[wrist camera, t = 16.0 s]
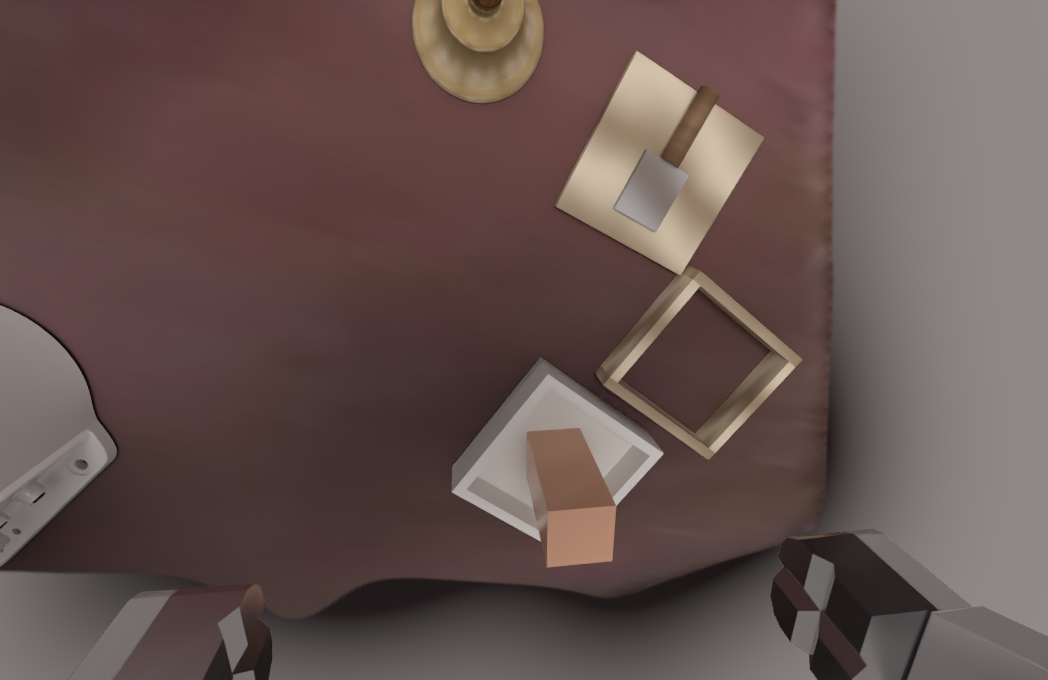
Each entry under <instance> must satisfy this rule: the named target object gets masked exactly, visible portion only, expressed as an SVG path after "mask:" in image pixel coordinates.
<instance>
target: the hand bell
mask: <svg viewBox="0 0 1048 680" xmlns="http://www.w3.org/2000/svg"><path fill="white" fill-rule="evenodd" d="M412 32H413V39H414V44H415V47H416V50H417V53H418V55H419V58H420V60H421V62H422V64H423V66H424V68H425V69H426V71H427V72H428V74H429V75H430V77H431V78H432V79H433V80H434V81H435V82H436V83H437V84H438V85H439V86H440V87H441V88H442V89H443V90H445V91H446V92H448V93H449V94H451V95H453V96H455V97H457V98H459V99H462V100H464V101H468V102H473V103H491V102H496V101H499V100H502V99H505V98H507V97H509V96H511V95H512V94H514V93H515V92H516V91H518V90H519V89H521V88H522V87H523V86H524V85H525V83H526V82H527V81H528V80H529V78H530V77H531V76H532V74H533V72H534V71H535V69H536V67H537V64H538V62H539V59H540V57H541V53H542V48H543V42H544V22H543V15H542V11H541V8H540V4H539V1H538V0H415V3H414V8H413V14H412Z"/></svg>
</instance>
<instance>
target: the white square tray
mask: <svg viewBox="0 0 1048 680" xmlns="http://www.w3.org/2000/svg"><path fill="white" fill-rule="evenodd" d="M572 428H580V430H581V432H582V434H583V436H584V438H585V440H586V443H587V445H588V447H589V449H590V451H591V453H592V455H593V457H594V460H595V462H596V464H597V466H598V468H599V470H600V472H601V474H602V477H603V479H604V481H605V483H606V485H607V487H608V489H609V491H610V494H611V496H612V498H613V500H614V502H615V504H616V506H617V505H618V503H619V502H620V501H621V500H622V499H623V498H624V497H625V496H626V495H627V494H628V492H629V491H630V490H631V489H632V488H633V487H634V486H635V485H636V484H637V483H638V481H639V480H640V479H641V478H642V477H643V476H644V475H645V474H646V473H647V472H648V470H649V469H650V468H651V467H652V466H653V465H654V464H655V463H656V462H657V461H658V459H659V458H660V457H661V456H662V455H663V454H664V453H663V452H662V450H661V449H660V448H659V446H658V445H657V444H656V442H655V441H654V439H653V438H652V437H651V435H650V434H649V432H648V431H646V430H645V429H643V428H642V427H641V426H639V425H638V424H636V423H635V422H633V421H632V420H630V419H629V418H628V417H626V416H625V415H623V414H622V413H620V412H619V411H618V410H616V409H615V408H613V407H612V406H610V405H609V404H607V403H606V402H605V401H603V400H602V399H600V398H599V397H597V396H596V395H595V394H593V393H592V392H590V391H589V390H587V389H586V388H585V387H583V386H582V385H580V384H579V383H577V382H576V381H574V380H573V379H572V378H570V377H569V376H567V375H566V374H564V373H563V372H562V371H560V370H559V369H557V368H556V367H554V366H553V365H552V364H550V363H549V362H547V361H546V360H544V359H543V358H541V357H540V358H539V359H538V361H537V362H536V363H535V364H534V366H533V367H532V368H531V369H530V371H529V372H528V373H527V374H526V376H525V377H524V378H523V379H522V381H521V382H520V383H519V384H518V385H517V387H516V388H515V389H514V390H513V392H512V393H511V394H510V395H509V397H508V398H507V399H506V400H505V402H504V403H503V404H502V405H501V407H500V408H499V409H498V410H497V412H496V413H495V414H494V415H493V416H492V418H491V419H490V420H489V421H488V423H487V424H486V425H485V426H484V428H483V429H482V430H481V431H480V433H479V434H478V435H477V436H476V438H475V439H474V440H473V441H472V443H471V444H470V445H469V446H468V447H467V449H466V450H465V451H464V452H463V454H462V455H461V456H460V457H459V459H458V460H457V461H456V462H455V464H454V465H453V466H452V493H454V494H456V495H458V496H459V497H461V498H463V499H465V500H467V501H469V502H470V503H472V504H474V505H476V506H478V507H479V508H481V509H483V510H485V511H487V512H488V513H490V514H492V515H494V516H496V517H497V518H499V519H501V520H503V521H505V522H506V523H508V524H510V525H512V526H514V527H515V528H517V529H519V530H521V531H523V532H525V533H526V534H528V535H530V536H532V537H534V538H535V539H537V540H539V541H541V539H540V535H539V530H538V526H537V521H536V517H535V512H534V508H533V503H532V499H531V494H530V490H529V485H528V481H527V431H541V430H557V429H572Z"/></svg>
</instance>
